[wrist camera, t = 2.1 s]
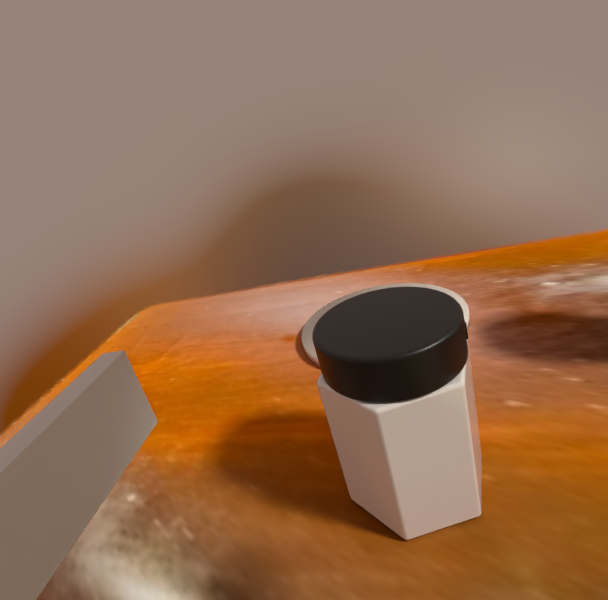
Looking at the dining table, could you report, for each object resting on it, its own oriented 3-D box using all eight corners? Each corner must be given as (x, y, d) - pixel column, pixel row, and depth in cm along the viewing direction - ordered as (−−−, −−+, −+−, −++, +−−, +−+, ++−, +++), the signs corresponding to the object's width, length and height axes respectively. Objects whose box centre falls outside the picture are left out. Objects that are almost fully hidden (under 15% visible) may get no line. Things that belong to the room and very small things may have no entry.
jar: (517, 471, 26) (503, 298, 21) (438, 570, 22) (401, 383, 17) (402, 416, 33) (373, 276, 28) (326, 484, 29) (278, 333, 24)
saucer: (454, 280, 52) (453, 273, 52) (488, 361, 36) (487, 351, 36) (314, 303, 57) (313, 297, 56) (290, 385, 41) (287, 376, 40)
